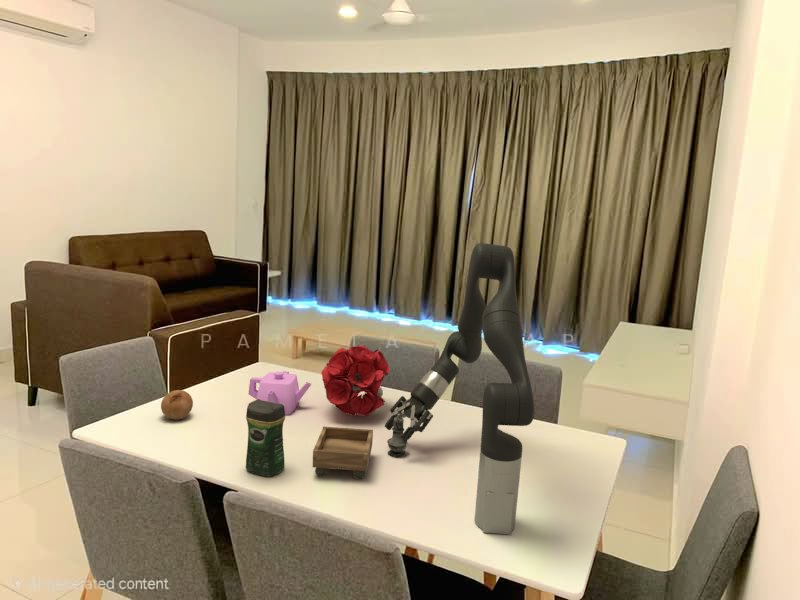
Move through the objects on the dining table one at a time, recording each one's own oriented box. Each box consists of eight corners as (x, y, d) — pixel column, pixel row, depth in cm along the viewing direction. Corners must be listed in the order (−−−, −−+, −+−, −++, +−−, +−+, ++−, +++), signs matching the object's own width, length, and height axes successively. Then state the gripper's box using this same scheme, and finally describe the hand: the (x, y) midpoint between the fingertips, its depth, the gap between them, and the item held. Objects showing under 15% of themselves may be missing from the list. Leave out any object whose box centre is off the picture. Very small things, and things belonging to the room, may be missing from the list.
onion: (180, 431, 182) (179, 409, 176) (154, 419, 183) (153, 396, 178) (199, 411, 189) (199, 389, 183) (175, 400, 191) (174, 378, 185)
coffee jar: (289, 467, 155) (290, 401, 152) (271, 480, 148) (272, 410, 145) (259, 459, 159) (259, 394, 156) (240, 471, 152) (241, 403, 148)
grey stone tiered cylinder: (382, 454, 166) (384, 414, 164) (392, 447, 171) (394, 408, 169) (401, 459, 163) (403, 419, 161) (410, 452, 169) (412, 412, 166)
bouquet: (339, 414, 212) (302, 396, 185) (360, 353, 218) (327, 327, 192) (392, 431, 204) (361, 414, 177) (413, 367, 210) (386, 342, 183)
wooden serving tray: (366, 482, 150) (367, 454, 149) (312, 478, 150) (313, 450, 149) (371, 454, 166) (373, 429, 164) (322, 451, 166) (323, 426, 165)
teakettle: (285, 395, 209) (286, 362, 207) (313, 409, 197) (314, 374, 195) (242, 405, 198) (242, 370, 195) (269, 421, 186) (269, 384, 183)
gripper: (409, 375, 174) (374, 418, 170) (438, 389, 162) (401, 436, 158) (422, 389, 178) (388, 432, 173) (451, 404, 166) (416, 450, 162)
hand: (394, 433), depth 166 cm, fingers open, 8 cm apart
